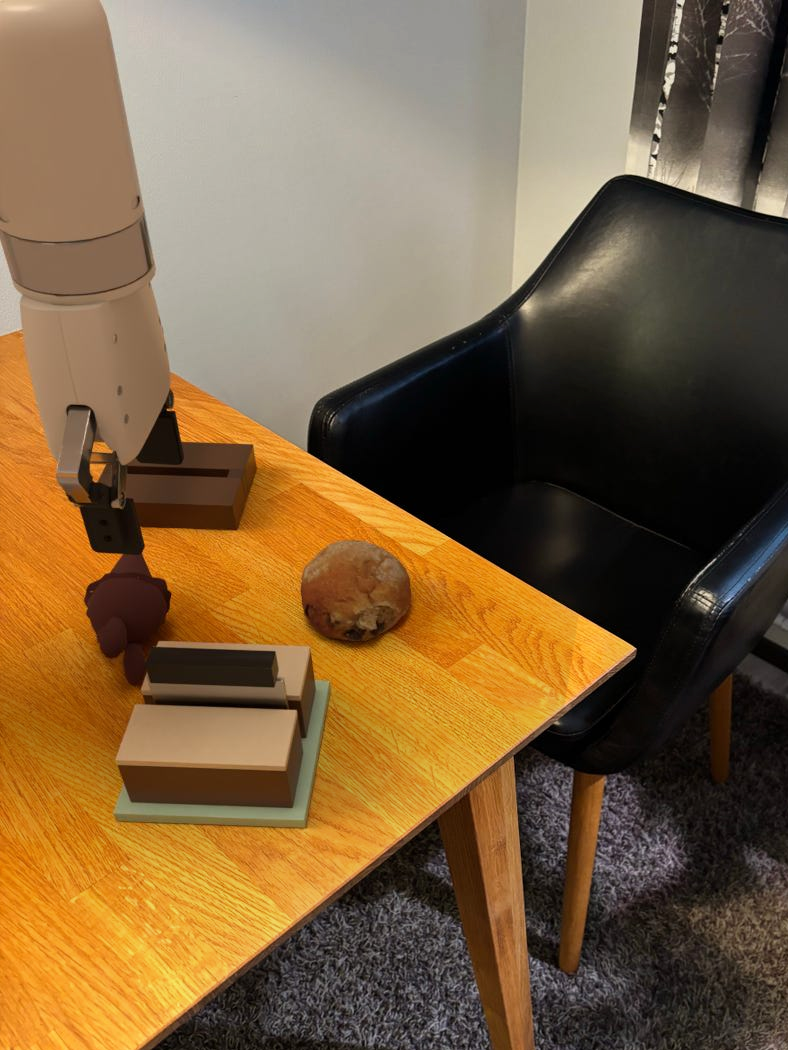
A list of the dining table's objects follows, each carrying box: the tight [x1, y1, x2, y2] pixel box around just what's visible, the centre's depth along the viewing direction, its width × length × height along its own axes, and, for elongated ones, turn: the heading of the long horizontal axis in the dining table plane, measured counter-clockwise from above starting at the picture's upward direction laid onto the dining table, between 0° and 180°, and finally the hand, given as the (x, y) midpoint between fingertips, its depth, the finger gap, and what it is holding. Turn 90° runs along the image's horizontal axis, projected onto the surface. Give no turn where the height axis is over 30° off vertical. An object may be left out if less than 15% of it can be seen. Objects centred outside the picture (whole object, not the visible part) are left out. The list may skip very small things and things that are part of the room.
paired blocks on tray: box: [112, 640, 332, 829], centre depth 77 cm, size 14×14×6 cm
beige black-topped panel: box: [145, 646, 289, 710], centre depth 75 cm, size 10×2×10 cm, turn 89°
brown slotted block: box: [97, 441, 258, 531], centre depth 101 cm, size 14×11×3 cm
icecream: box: [83, 553, 173, 686], centre depth 86 cm, size 7×7×15 cm
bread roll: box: [300, 539, 412, 642], centre depth 90 cm, size 10×10×8 cm
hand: (141, 504), depth 66 cm, fingers open, 9 cm apart
